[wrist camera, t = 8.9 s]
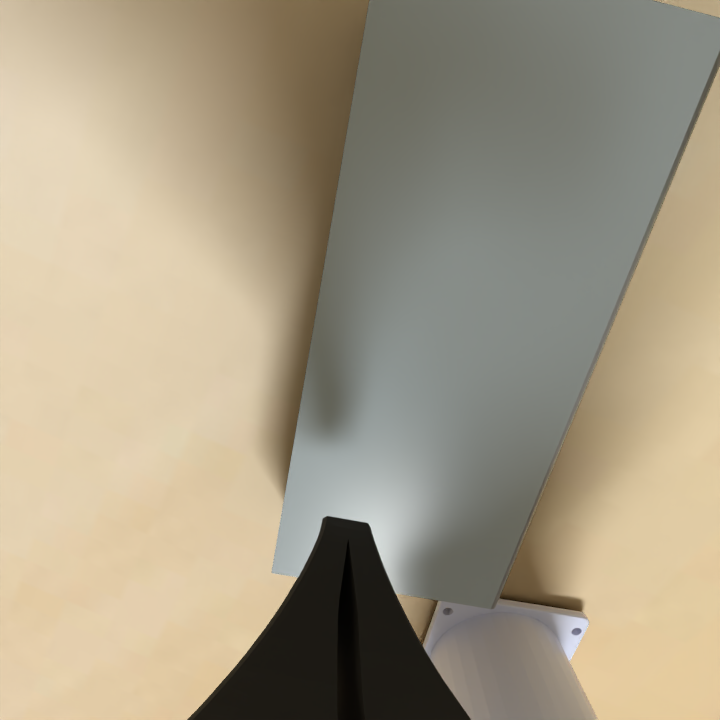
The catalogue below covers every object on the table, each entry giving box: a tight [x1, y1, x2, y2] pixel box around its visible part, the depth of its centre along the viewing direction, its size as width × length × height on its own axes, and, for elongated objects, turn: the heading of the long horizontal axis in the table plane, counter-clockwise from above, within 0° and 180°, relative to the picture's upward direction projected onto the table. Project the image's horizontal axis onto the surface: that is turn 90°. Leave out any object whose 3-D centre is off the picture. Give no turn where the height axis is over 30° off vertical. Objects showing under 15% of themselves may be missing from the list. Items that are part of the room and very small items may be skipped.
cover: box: [272, 0, 720, 609], centre depth 13 cm, size 20×9×1 cm, turn 168°
